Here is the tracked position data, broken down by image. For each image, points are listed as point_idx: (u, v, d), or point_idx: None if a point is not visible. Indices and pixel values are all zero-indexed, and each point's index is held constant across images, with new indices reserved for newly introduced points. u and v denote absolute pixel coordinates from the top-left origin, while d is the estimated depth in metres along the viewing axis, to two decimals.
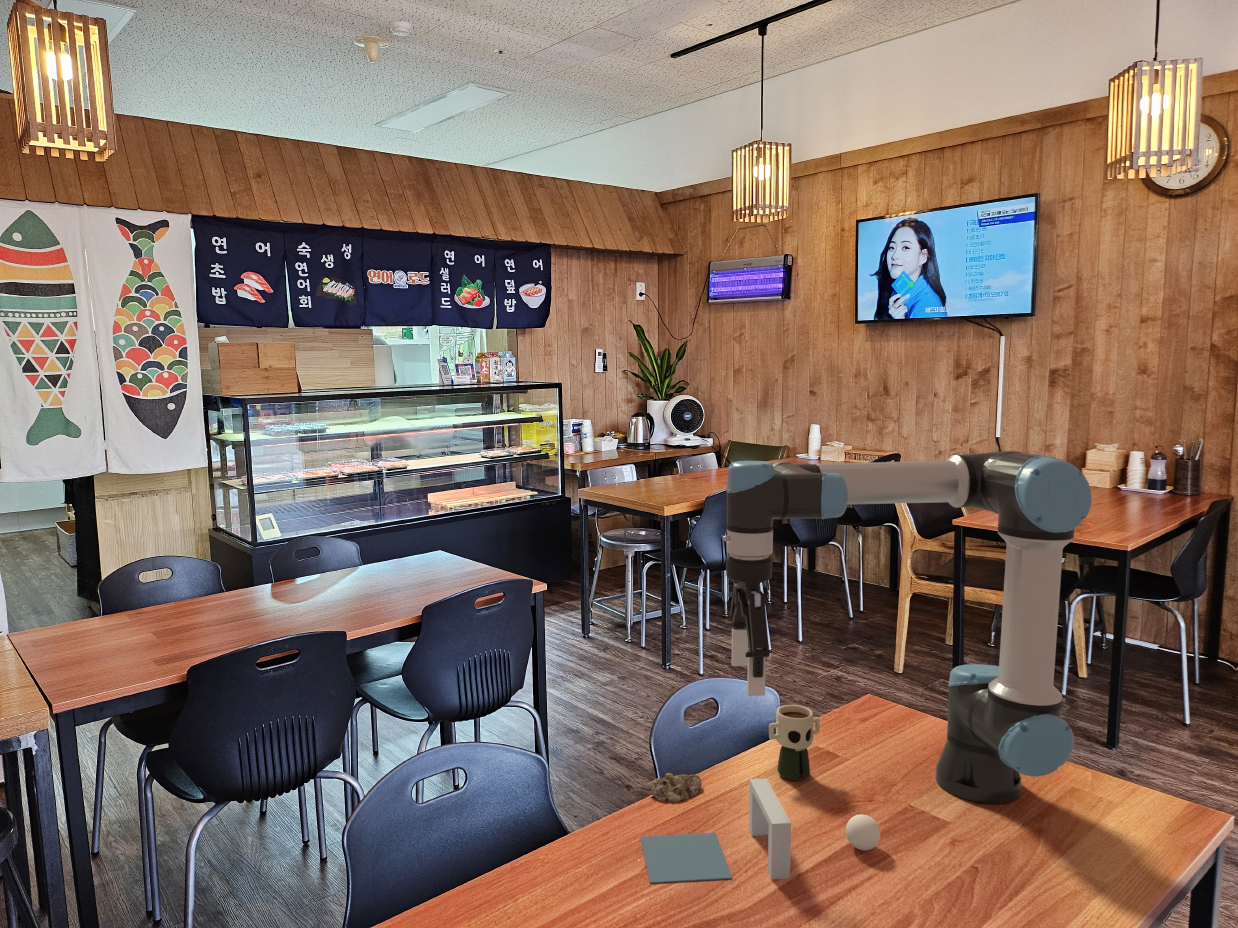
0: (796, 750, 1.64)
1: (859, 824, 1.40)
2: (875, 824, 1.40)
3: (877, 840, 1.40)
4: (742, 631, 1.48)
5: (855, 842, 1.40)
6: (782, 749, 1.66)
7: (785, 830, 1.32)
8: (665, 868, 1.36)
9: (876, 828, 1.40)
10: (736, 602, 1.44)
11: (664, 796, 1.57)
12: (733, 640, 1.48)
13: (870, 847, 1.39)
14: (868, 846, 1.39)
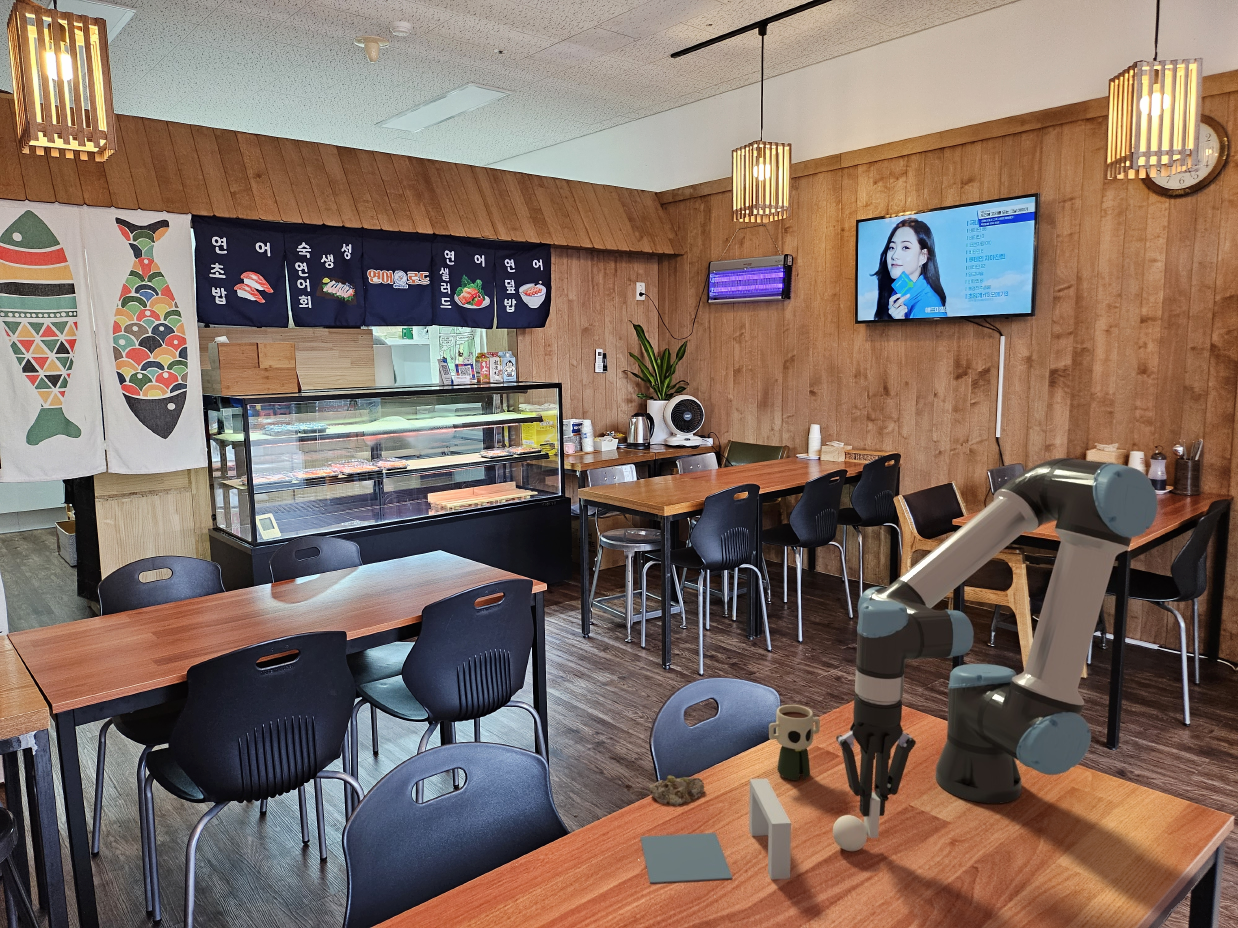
0: (796, 750, 1.64)
1: (839, 832, 1.40)
2: (853, 822, 1.40)
3: (863, 835, 1.39)
4: None
5: (847, 849, 1.40)
6: (782, 749, 1.66)
7: (785, 830, 1.32)
8: (665, 868, 1.36)
9: (856, 825, 1.40)
10: None
11: (665, 799, 1.56)
12: None
13: (861, 845, 1.39)
14: (859, 846, 1.39)
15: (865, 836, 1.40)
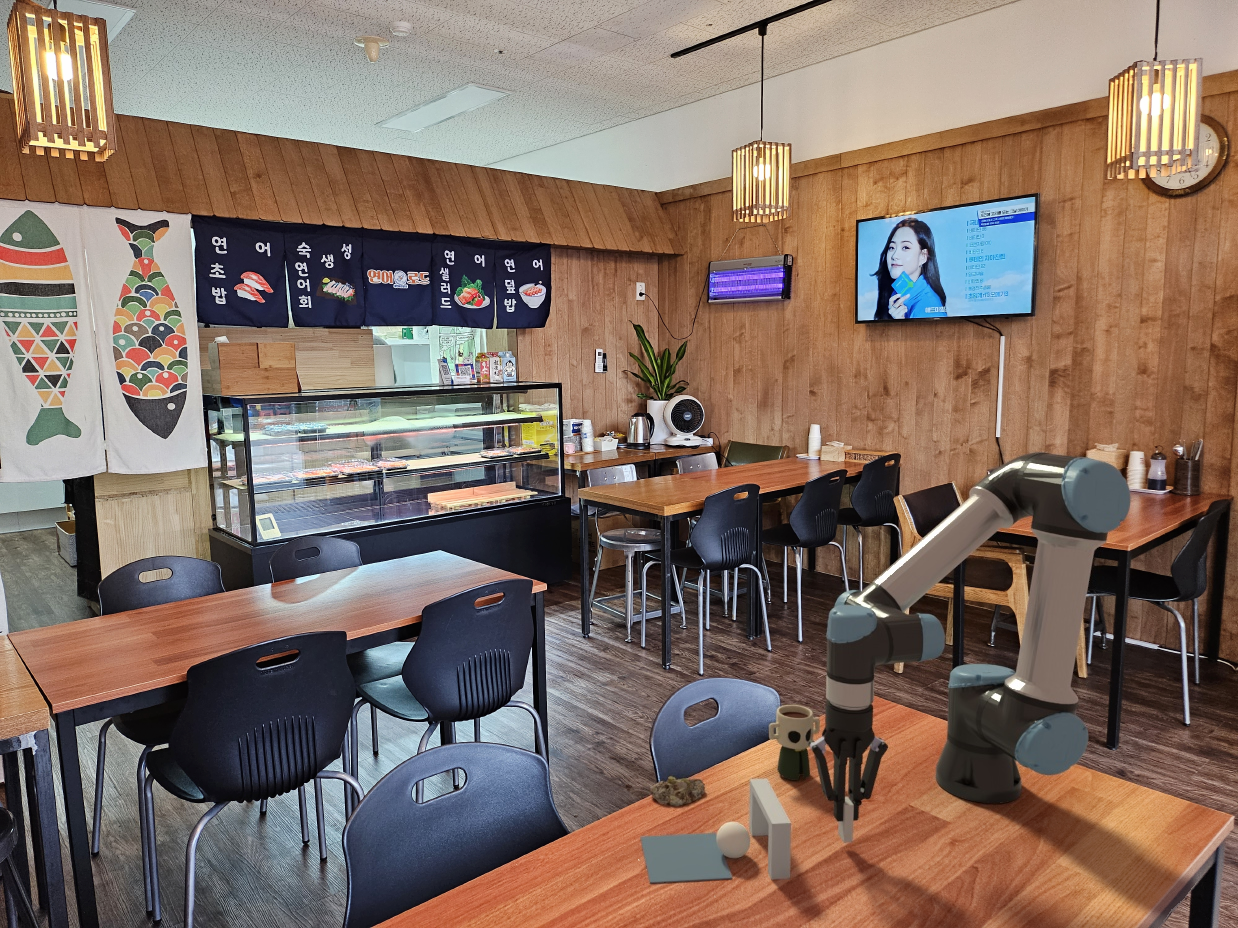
0: (796, 750, 1.64)
1: (722, 851, 1.38)
2: (724, 833, 1.38)
3: (738, 837, 1.37)
4: None
5: (739, 856, 1.38)
6: (782, 749, 1.66)
7: (785, 830, 1.32)
8: (665, 868, 1.36)
9: (727, 835, 1.37)
10: None
11: (666, 799, 1.56)
12: None
13: (745, 845, 1.37)
14: (743, 848, 1.37)
15: (741, 835, 1.37)
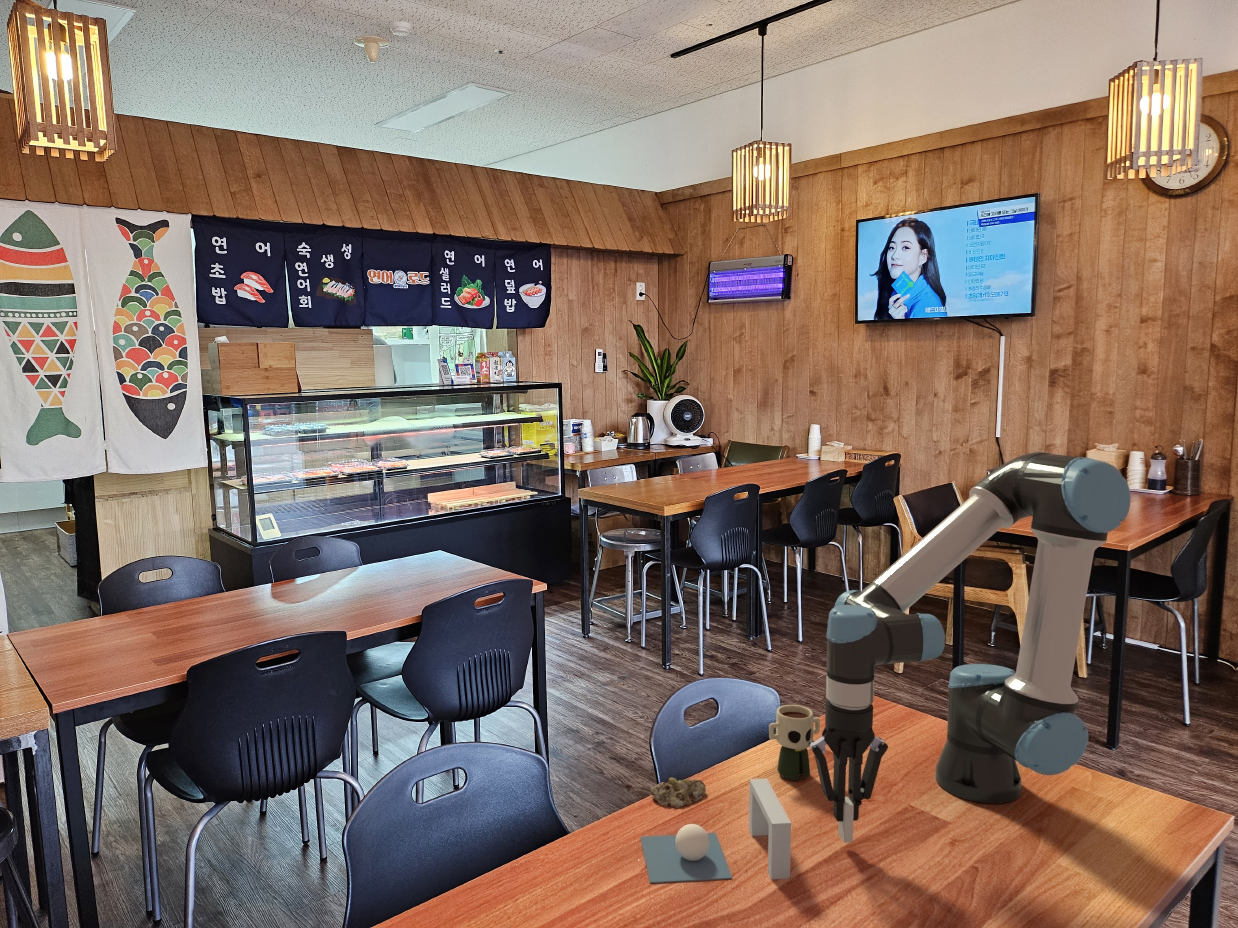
0: (796, 750, 1.64)
1: (708, 848, 1.38)
2: (695, 859, 1.38)
3: (687, 855, 1.36)
4: None
5: (699, 836, 1.37)
6: (782, 749, 1.66)
7: (785, 830, 1.32)
8: (665, 868, 1.36)
9: (694, 860, 1.37)
10: None
11: (666, 801, 1.56)
12: None
13: (687, 847, 1.36)
14: (690, 846, 1.36)
15: (683, 853, 1.37)
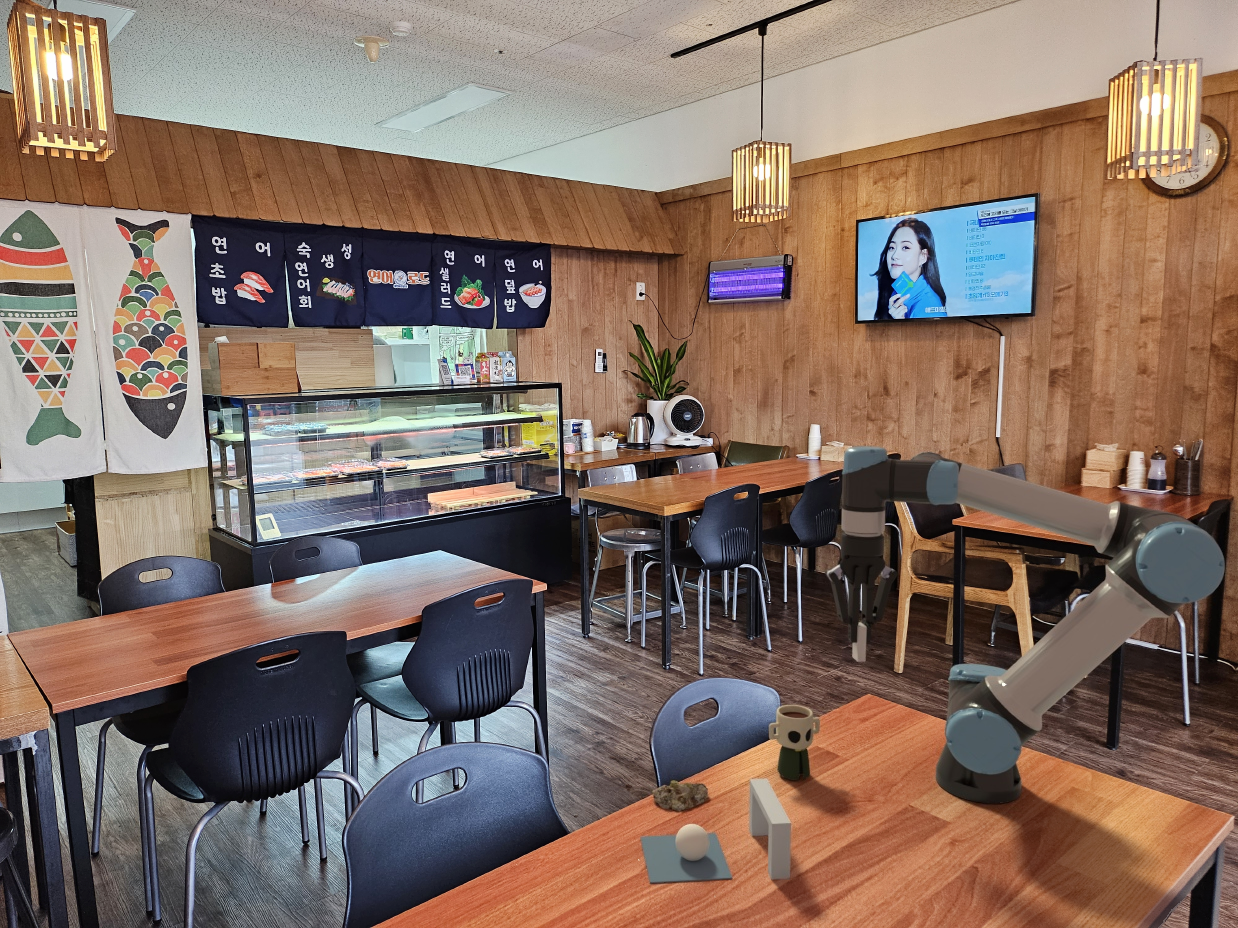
0: (796, 750, 1.64)
1: (708, 848, 1.38)
2: (695, 859, 1.38)
3: (687, 855, 1.36)
4: None
5: (699, 836, 1.37)
6: (782, 749, 1.66)
7: (785, 830, 1.32)
8: (665, 868, 1.36)
9: (694, 860, 1.37)
10: None
11: (668, 804, 1.54)
12: None
13: (687, 847, 1.36)
14: (690, 846, 1.36)
15: (683, 853, 1.37)
